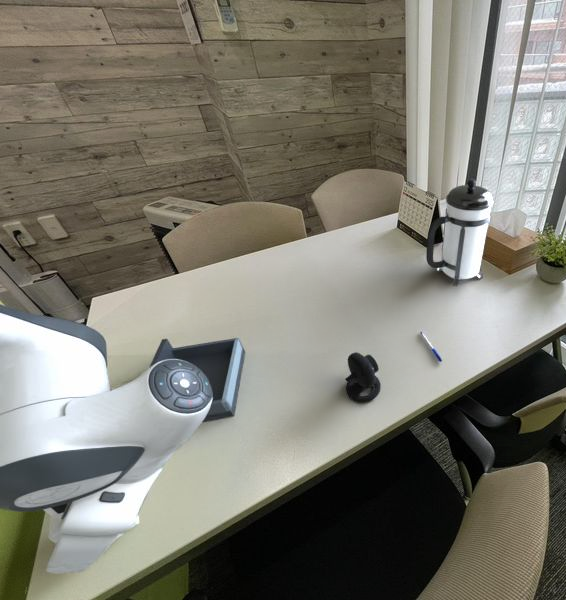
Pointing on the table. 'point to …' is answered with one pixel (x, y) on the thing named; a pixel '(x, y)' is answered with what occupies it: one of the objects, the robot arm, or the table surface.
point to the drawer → (212, 370)
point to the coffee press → (462, 232)
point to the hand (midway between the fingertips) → (91, 497)
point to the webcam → (362, 377)
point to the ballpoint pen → (431, 347)
